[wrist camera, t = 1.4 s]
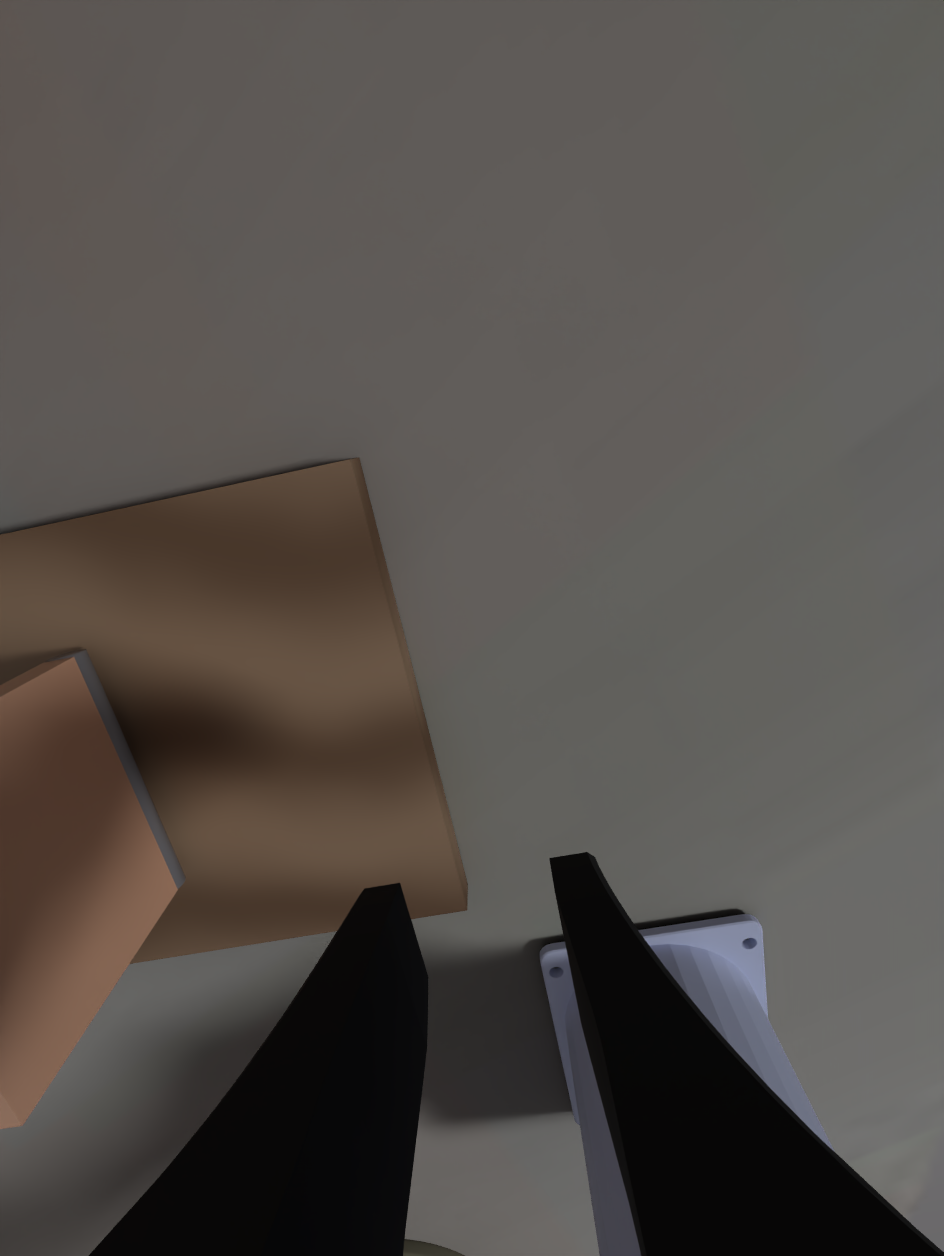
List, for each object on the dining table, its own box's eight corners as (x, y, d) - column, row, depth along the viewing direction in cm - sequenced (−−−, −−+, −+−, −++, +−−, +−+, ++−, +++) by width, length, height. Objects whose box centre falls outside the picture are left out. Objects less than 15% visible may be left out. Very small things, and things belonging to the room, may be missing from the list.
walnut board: (467, 884, 21) (467, 910, 20) (3, 959, 22) (-23, 987, 21) (359, 457, 16) (350, 458, 15) (-218, 581, 18) (-267, 592, 16)
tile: (24, 1125, 12) (-25, 1132, 12) (191, 871, 19) (159, 876, 19) (-187, 799, 10) (-246, 810, 10) (93, 646, 17) (57, 653, 17)
